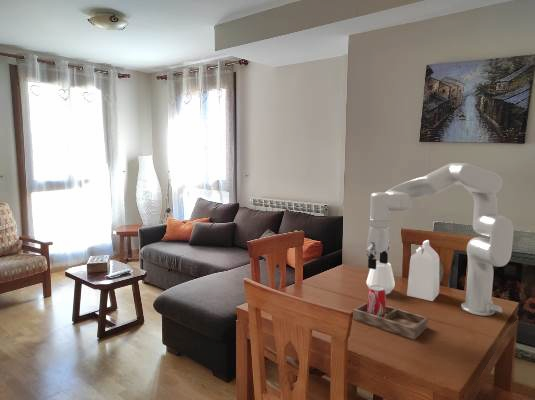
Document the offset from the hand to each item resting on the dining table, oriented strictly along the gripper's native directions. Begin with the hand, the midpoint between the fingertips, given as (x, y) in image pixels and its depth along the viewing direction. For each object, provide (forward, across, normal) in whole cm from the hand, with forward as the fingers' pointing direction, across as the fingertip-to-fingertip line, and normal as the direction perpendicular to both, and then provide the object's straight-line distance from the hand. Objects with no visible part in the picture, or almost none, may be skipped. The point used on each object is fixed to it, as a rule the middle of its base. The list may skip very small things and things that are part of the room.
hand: (377, 265), depth 152 cm
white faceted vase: (+22, -30, -13) cm, 40 cm away
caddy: (+22, 0, +6) cm, 23 cm away
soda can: (+21, 0, 0) cm, 21 cm away
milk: (+22, -40, +4) cm, 46 cm away
